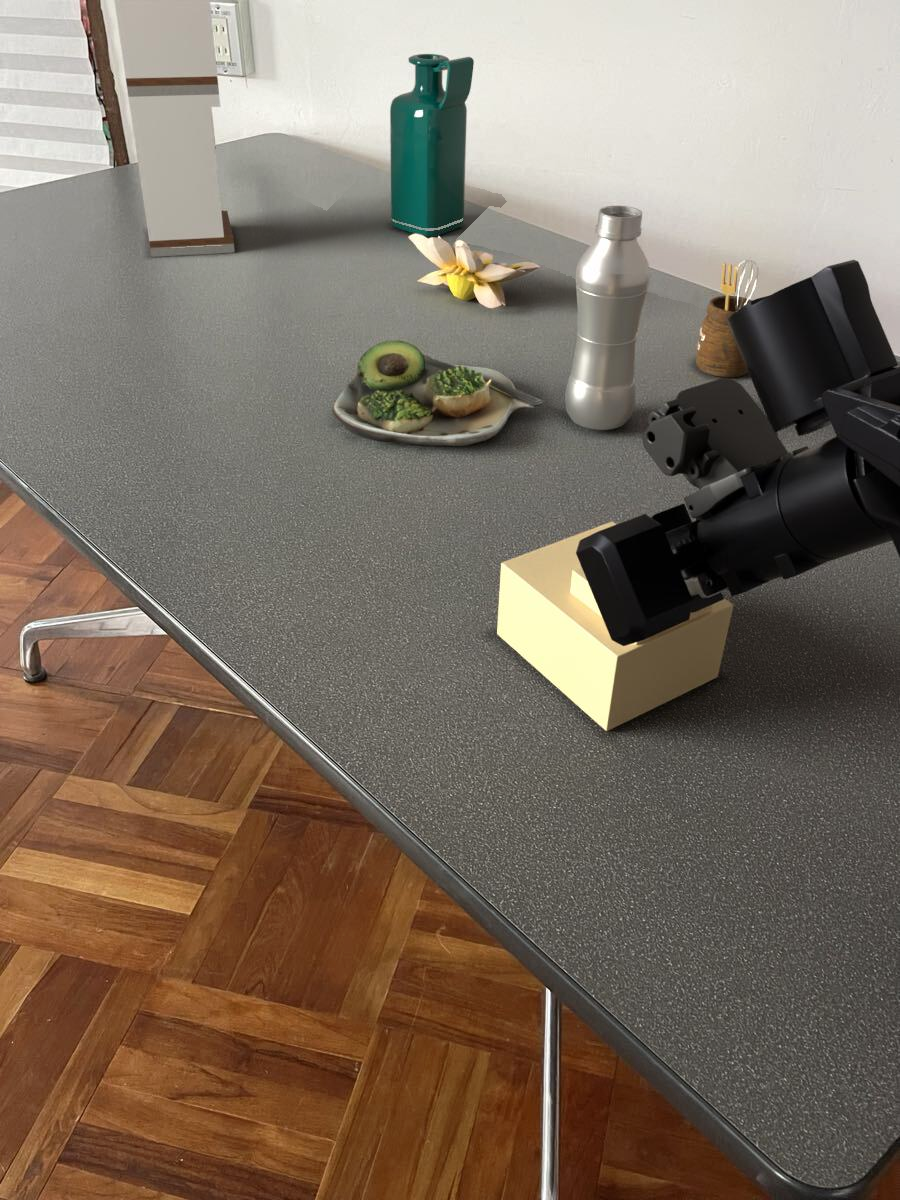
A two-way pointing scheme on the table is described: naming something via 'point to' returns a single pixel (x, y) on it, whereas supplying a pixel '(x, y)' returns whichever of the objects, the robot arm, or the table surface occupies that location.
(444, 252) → the decorative flower
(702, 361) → the utensil holder
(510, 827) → the table surface
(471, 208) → the table surface
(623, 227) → the silver metal bottle
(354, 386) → the salad plate
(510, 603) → the switch block
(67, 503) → the table surface
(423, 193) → the pitcher
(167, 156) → the striped white pillar
